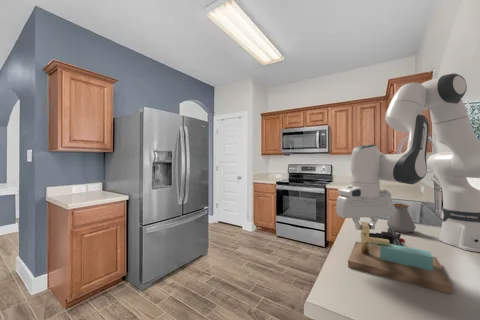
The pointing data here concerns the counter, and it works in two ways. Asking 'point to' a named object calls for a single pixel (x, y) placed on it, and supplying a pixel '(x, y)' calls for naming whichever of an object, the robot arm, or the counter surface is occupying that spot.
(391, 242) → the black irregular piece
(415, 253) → the cover
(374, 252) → the base
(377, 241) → the t key
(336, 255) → the counter surface
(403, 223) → the coffee pot
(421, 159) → the robot arm
